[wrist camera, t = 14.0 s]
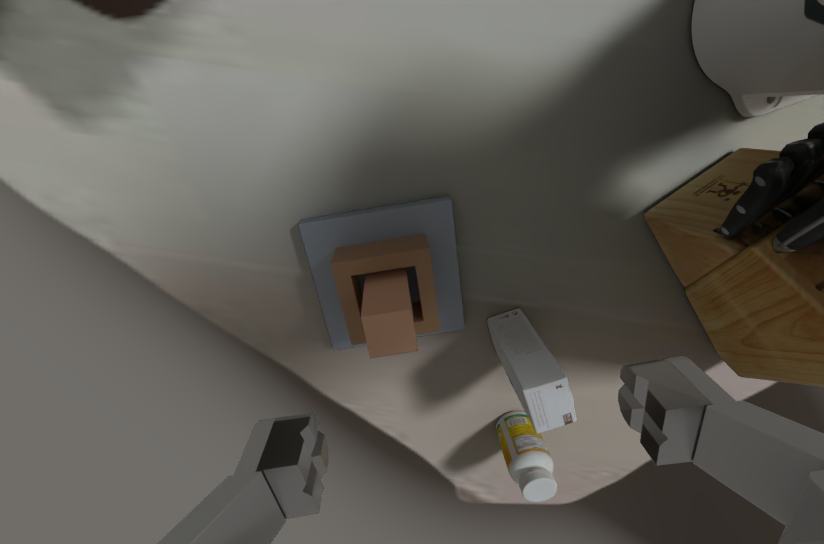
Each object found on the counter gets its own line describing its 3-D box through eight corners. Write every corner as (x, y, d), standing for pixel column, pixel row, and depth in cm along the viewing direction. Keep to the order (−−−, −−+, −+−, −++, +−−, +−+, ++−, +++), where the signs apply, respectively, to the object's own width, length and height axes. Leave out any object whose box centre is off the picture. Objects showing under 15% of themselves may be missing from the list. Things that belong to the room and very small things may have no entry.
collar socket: (449, 196, 38) (459, 210, 33) (462, 322, 44) (472, 350, 39) (301, 219, 38) (288, 237, 33) (335, 342, 44) (329, 373, 39)
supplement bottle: (513, 403, 50) (541, 467, 41) (541, 420, 52) (573, 485, 43) (486, 428, 52) (507, 495, 43) (514, 444, 53) (539, 512, 44)
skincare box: (484, 318, 44) (517, 390, 33) (521, 305, 44) (567, 374, 33) (498, 358, 47) (533, 437, 36) (533, 346, 46) (579, 422, 35)
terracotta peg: (404, 260, 39) (411, 309, 30) (410, 294, 41) (418, 350, 32) (366, 266, 39) (360, 317, 30) (373, 300, 41) (370, 358, 32)
